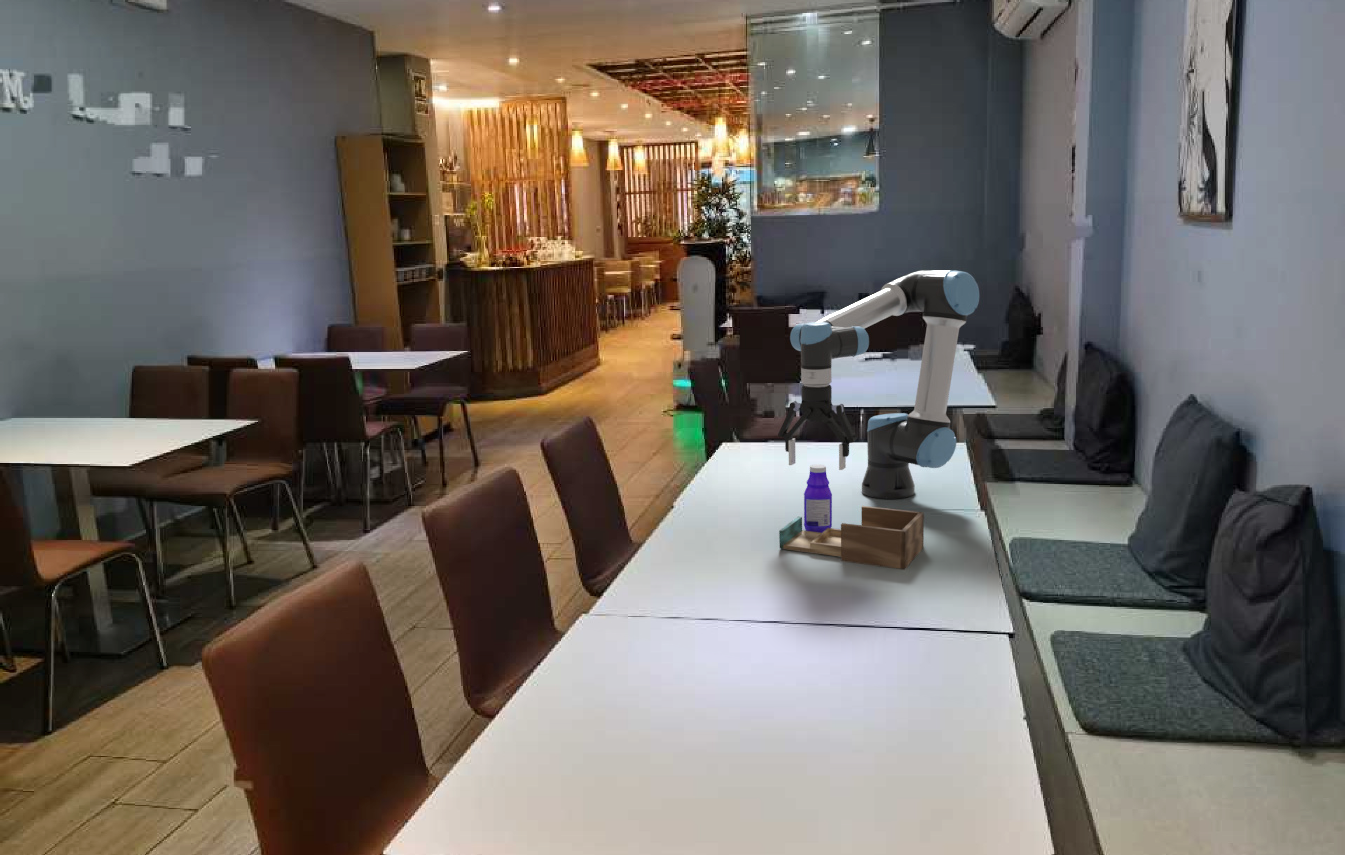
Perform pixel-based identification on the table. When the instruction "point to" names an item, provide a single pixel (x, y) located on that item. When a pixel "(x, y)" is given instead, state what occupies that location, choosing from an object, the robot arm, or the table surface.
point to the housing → (883, 537)
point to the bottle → (817, 500)
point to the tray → (810, 539)
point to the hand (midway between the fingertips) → (816, 466)
